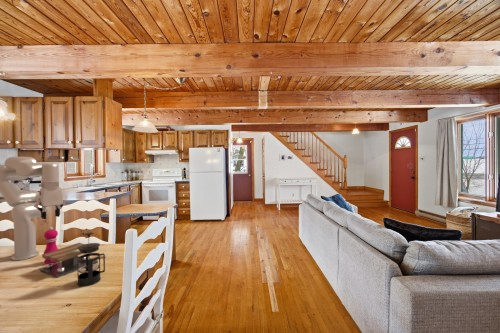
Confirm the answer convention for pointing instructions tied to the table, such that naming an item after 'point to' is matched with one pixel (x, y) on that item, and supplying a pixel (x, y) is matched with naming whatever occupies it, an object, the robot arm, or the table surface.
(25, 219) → the robot arm
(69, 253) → the board
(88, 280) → the french press
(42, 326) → the table surface
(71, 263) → the board stand
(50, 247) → the pepper mill
